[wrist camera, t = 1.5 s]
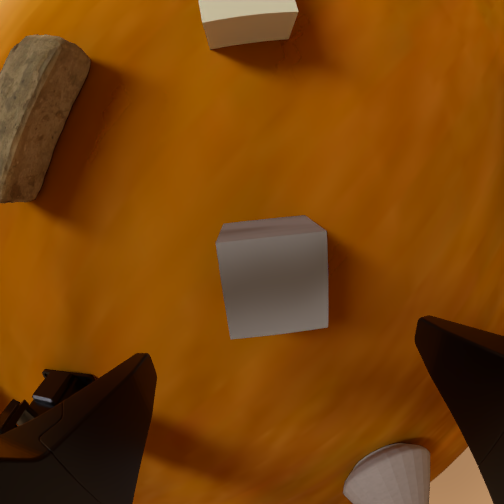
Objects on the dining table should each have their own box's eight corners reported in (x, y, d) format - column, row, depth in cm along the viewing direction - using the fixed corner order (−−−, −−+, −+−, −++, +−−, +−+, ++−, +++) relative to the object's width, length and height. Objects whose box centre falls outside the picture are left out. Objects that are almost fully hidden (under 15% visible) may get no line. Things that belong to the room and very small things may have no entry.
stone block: (103, 57, 14) (67, 33, 9) (43, 205, 17) (-1, 217, 12) (53, 47, 13) (16, 29, 9) (2, 180, 16) (-40, 187, 11)
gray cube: (308, 289, 19) (328, 327, 14) (233, 298, 19) (230, 339, 14) (304, 214, 18) (326, 231, 13) (223, 223, 18) (215, 242, 13)
